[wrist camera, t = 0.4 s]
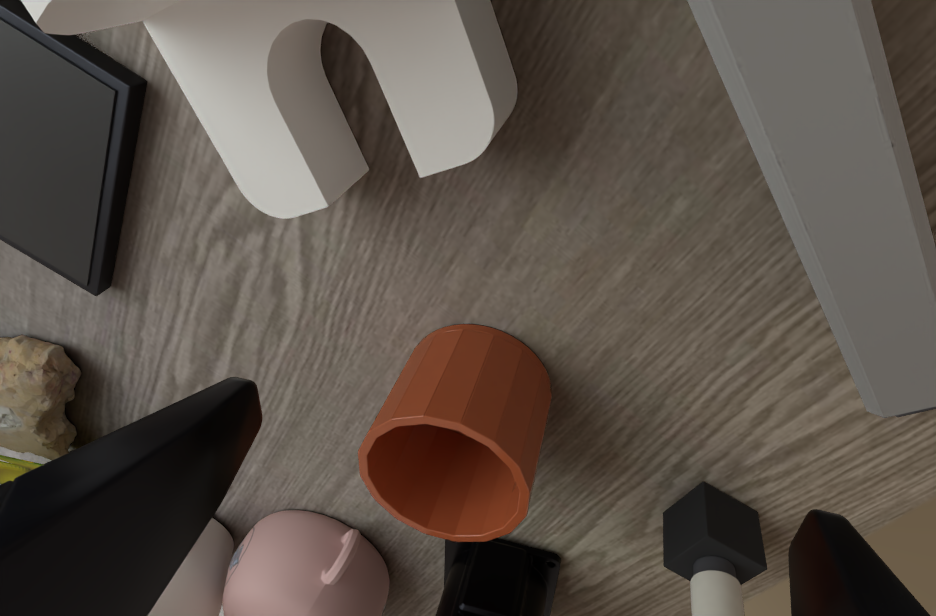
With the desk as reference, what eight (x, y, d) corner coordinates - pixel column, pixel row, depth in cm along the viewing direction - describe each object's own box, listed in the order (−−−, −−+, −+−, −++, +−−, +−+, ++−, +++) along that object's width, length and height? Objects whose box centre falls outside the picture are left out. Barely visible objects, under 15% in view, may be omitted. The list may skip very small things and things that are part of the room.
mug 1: (246, 587, 44) (131, 776, 34) (139, 533, 44) (-8, 708, 34) (276, 504, 37) (143, 713, 28) (149, 440, 37) (-31, 627, 27)
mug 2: (180, 629, 37) (234, 546, 42) (316, 707, 38) (354, 618, 43) (241, 553, 30) (298, 465, 35) (405, 652, 31) (438, 553, 36)
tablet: (1, -13, 23) (-26, -10, 22) (148, 80, 24) (128, 87, 23) (-3, 219, 30) (-23, 228, 29) (111, 287, 31) (94, 298, 30)
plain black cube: (714, 541, 29) (720, 598, 27) (662, 512, 29) (663, 566, 27) (758, 511, 28) (767, 569, 25) (703, 480, 27) (707, 535, 25)
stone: (146, 449, 38) (58, 317, 33) (105, 492, 35) (4, 354, 31) (3, 450, 42) (-92, 333, 38) (-43, 488, 40) (-153, 366, 35)
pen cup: (543, 451, 29) (520, 559, 24) (410, 421, 30) (363, 518, 25) (561, 339, 25) (537, 440, 20) (407, 311, 27) (352, 400, 22)
